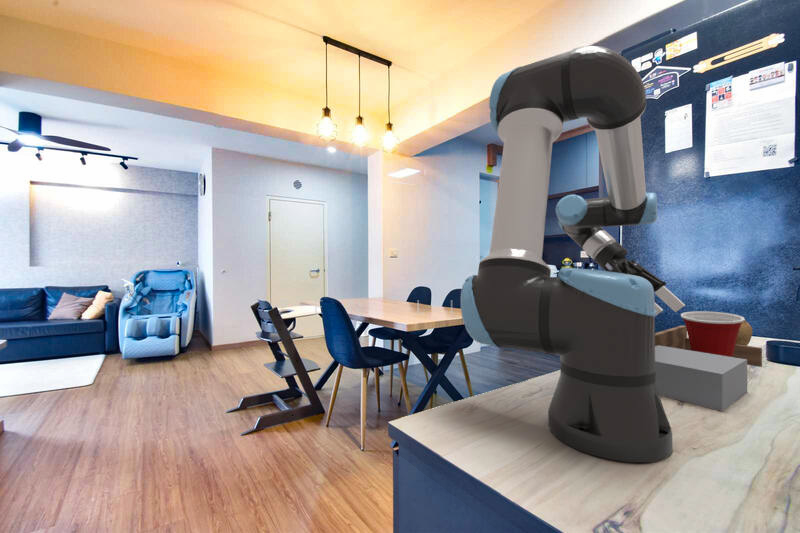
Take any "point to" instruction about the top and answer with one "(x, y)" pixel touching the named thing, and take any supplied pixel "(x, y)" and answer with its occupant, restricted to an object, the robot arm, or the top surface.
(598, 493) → the top surface
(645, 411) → the robot arm
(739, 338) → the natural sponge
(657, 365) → the grey square block
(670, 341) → the brown wooden frame
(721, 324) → the plastic cup
